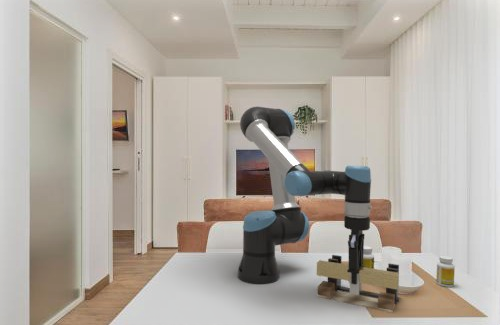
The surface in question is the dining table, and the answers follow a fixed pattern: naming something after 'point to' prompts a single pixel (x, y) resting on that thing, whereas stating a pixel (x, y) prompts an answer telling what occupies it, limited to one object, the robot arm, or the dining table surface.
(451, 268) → the supplement bottle
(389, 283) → the rail
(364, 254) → the pill bottle
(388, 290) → the rack
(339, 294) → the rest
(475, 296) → the dining table surface
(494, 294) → the dining table surface
